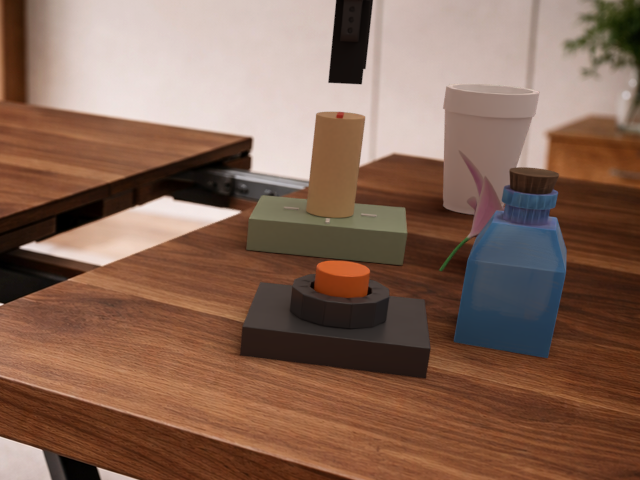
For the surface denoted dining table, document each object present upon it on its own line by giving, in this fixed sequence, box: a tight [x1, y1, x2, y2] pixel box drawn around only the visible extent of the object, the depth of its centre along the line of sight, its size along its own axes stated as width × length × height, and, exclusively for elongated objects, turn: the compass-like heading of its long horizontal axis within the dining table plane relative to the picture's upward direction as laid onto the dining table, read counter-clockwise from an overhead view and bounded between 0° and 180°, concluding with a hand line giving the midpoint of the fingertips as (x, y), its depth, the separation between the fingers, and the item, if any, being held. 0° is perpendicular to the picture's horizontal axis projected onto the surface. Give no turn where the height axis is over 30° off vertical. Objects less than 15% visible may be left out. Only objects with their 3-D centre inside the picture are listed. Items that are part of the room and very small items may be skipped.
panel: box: [245, 194, 408, 266], centre depth 90 cm, size 14×10×3 cm
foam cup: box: [442, 83, 540, 216], centre depth 104 cm, size 10×9×13 cm
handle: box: [306, 111, 366, 218], centre depth 88 cm, size 4×4×9 cm
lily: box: [438, 150, 505, 273], centre depth 82 cm, size 12×12×10 cm
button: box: [314, 260, 371, 298], centre depth 65 cm, size 4×4×2 cm
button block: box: [239, 273, 432, 379], centre depth 66 cm, size 12×10×4 cm
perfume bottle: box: [453, 166, 568, 359], centre depth 67 cm, size 6×6×12 cm
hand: (348, 75), depth 85 cm, fingers open, 13 cm apart
